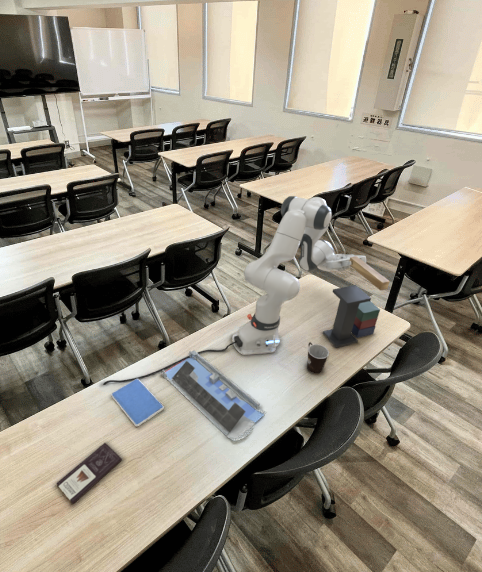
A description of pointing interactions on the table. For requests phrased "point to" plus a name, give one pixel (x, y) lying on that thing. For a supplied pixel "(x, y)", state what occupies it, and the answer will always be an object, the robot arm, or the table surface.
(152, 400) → the tablet
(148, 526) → the table surface
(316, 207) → the robot arm
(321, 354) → the coffee mug
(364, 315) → the book stack
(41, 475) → the table surface
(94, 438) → the table surface
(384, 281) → the wooden bar
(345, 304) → the stand
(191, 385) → the blue parts tray
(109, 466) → the chocolate bar
